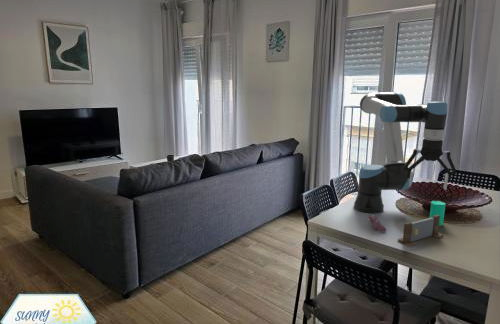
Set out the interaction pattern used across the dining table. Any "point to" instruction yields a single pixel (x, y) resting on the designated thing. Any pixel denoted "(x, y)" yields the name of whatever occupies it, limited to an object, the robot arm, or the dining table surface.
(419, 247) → the dining table surface
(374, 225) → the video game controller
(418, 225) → the door
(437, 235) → the brown bent pieces
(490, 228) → the dining table surface
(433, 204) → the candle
